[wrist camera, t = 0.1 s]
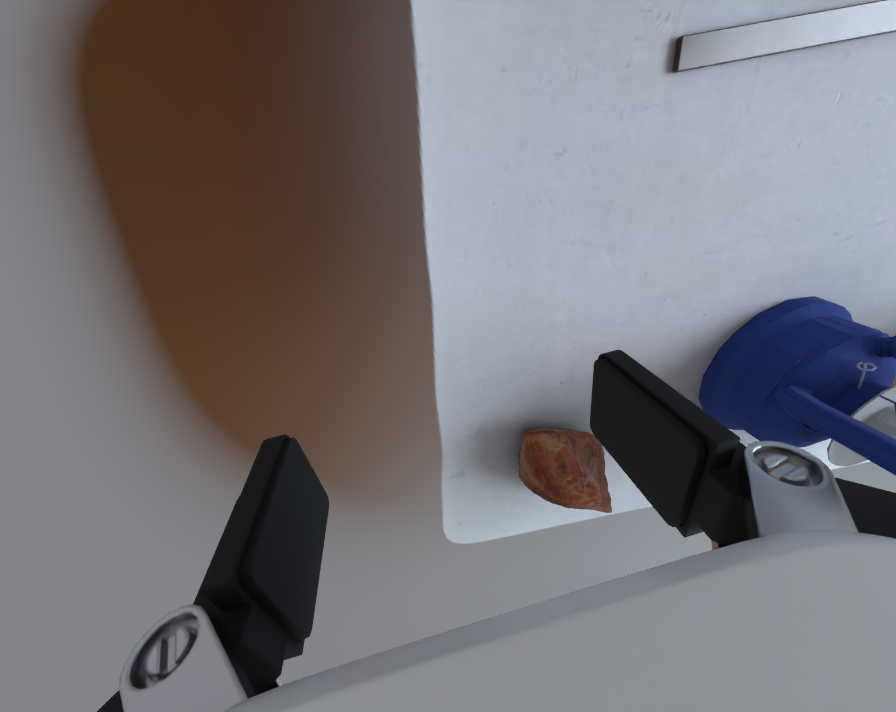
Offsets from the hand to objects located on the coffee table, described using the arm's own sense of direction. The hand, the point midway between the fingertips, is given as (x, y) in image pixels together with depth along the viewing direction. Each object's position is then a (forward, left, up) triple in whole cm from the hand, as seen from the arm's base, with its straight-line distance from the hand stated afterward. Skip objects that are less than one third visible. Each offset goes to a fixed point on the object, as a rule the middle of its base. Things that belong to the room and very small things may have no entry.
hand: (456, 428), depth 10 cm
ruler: (-10, +30, -15) cm, 36 cm away
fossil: (+20, +10, -16) cm, 27 cm away
